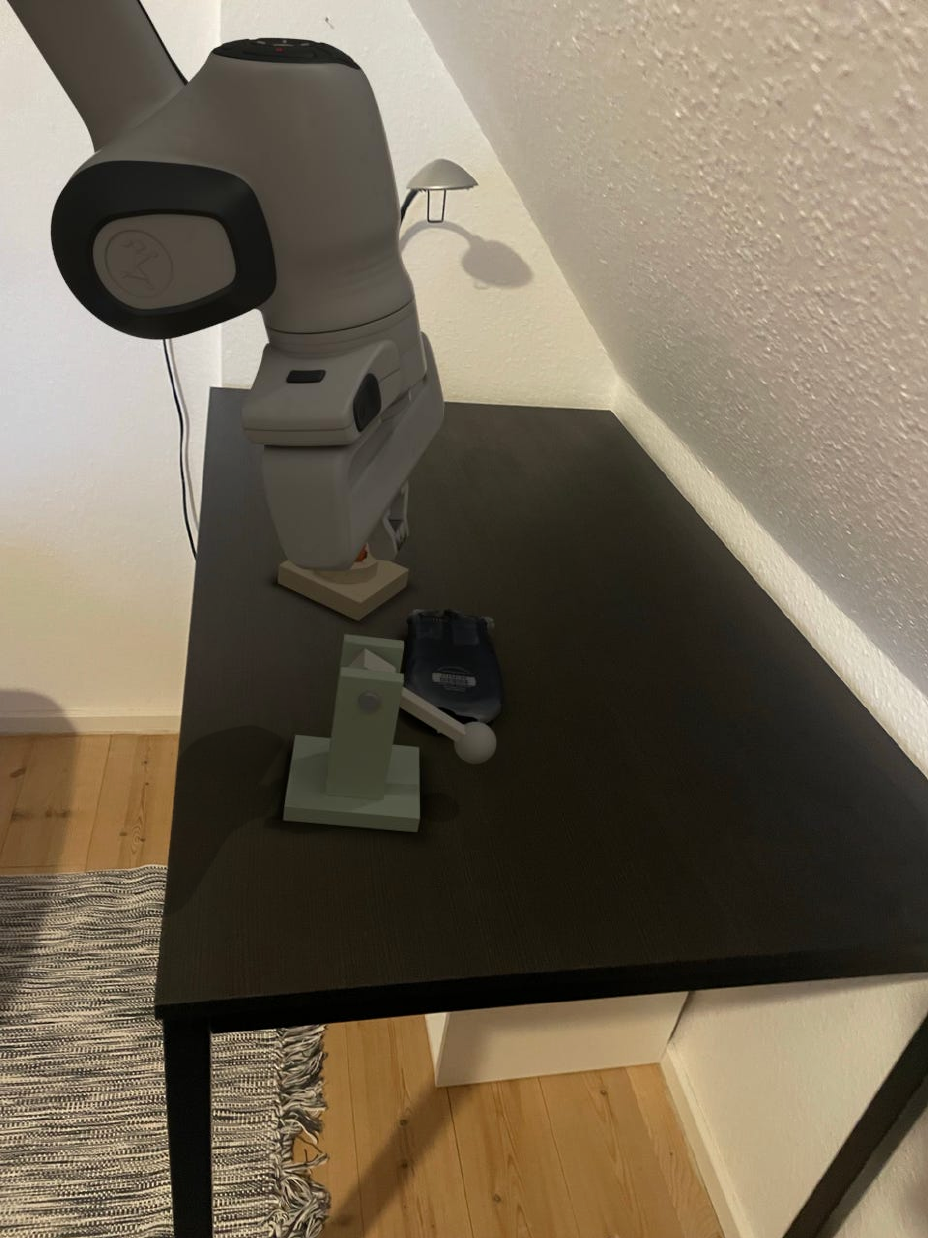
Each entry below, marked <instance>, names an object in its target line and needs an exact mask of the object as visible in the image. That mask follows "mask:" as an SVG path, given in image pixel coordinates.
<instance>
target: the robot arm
mask: <svg viewBox="0 0 928 1238" xmlns="http://www.w3.org/2000/svg"><path fill="white" fill-rule="evenodd" d="M6 2H7V3H8V4H9V6H10V8H11V9H12V11H13V13H14V14H15V16H16V17H17V19H18V20H19V22H20V24H21V25H22V26H23V28H24V30H25V31H26V33H27V34H28V36H29V38H30V39H31V40H32V42H33V44H34V46H35V47H36V49H37V50H38V53H40V55H41V56H42V58H43V59H44V61H45V63H46V64H47V66H48V67H49V69H50V70H51V72H52V74H53V75H54V77H55V78H56V80H57V81H58V83H59V84H60V86H61V87H62V89H63V91H64V92H65V94H66V96H67V97H68V99H69V100H70V103H71V104H72V105H73V106H74V108H75V110H76V112H77V113H78V114H79V116H80V118H81V119H82V121H83V123H84V125H85V127H86V129H87V131H88V135H89V137H90V140H91V143H92V147H93V152H94V153H93V154H92V155H90V157H88V158H87V159H86V160H85V161H84V162H83V163H81V165H80V166H79V167H78V168H77V169H76V170H75V171H74V172H73V173H72V175H71V176H70V178H69V179H68V180H67V182H66V184H65V185H64V187H63V188H62V190H61V191H60V193H59V195H58V196H57V199H56V200H55V203H54V206H53V209H52V214H51V220H50V242H51V249H52V254H53V257H54V261H55V263H56V266H57V269H58V271H59V273H60V275H61V278H62V280H63V281H64V283H65V284H66V286H67V288H68V289H69V291H70V292H71V294H72V295H73V296H74V298H75V299H76V300H77V301H78V302H79V303H80V305H81V306H83V307H84V309H86V310H87V311H88V312H89V313H90V314H91V315H92V316H94V317H95V318H96V319H97V320H99V321H100V322H102V323H103V324H105V325H106V326H108V327H110V328H112V329H114V330H115V331H117V332H120V333H122V334H125V335H128V336H130V337H133V338H134V337H135V338H138V339H142V340H143V339H144V340H151V341H152V340H153V341H162V340H171V339H176V338H180V337H183V336H187V335H191V334H193V333H197V332H200V331H203V330H207V329H209V328H212V327H214V326H217V325H220V324H223V323H226V322H228V321H232V320H233V319H237V318H238V317H240V316H243V315H245V314H247V313H249V312H251V311H253V310H257V311H259V313H260V316H261V318H262V322H263V326H264V330H265V334H266V338H267V341H268V342H267V343H266V344H265V345H264V347H263V350H262V354H261V357H260V363H259V367H258V370H257V373H256V376H255V378H254V381H253V383H252V384H251V387H250V390H249V392H248V394H247V396H246V398H245V399H244V402H243V404H242V407H241V410H240V422H241V427H242V430H243V433H244V435H245V438H246V440H247V442H248V443H250V444H252V445H253V444H255V445H263V447H262V449H261V453H260V476H261V477H260V478H261V483H262V487H263V490H264V491H263V492H264V494H265V498H266V502H267V505H268V509H269V512H270V515H271V519H272V523H273V525H274V528H275V531H276V534H277V536H278V537H277V538H278V540H279V542H280V545H281V548H282V551H283V553H284V554H285V556H286V558H287V560H288V559H289V561H291V562H292V563H293V564H294V565H296V566H297V567H299V568H301V569H305V570H318V571H346V570H348V569H350V568H351V567H352V565H353V564H354V562H355V560H356V559H357V557H358V556H359V554H360V552H361V551H362V549H363V548H364V546H365V545H366V543H367V542H368V545H369V549H370V553H371V556H372V557H373V558H374V559H376V560H387V561H391V562H393V561H394V560H396V558H397V556H398V554H399V552H400V550H401V549H402V547H403V545H404V544H405V543H406V541H407V539H408V537H409V536H410V529H409V523H408V519H407V514H408V513H407V512H408V503H409V502H408V501H409V489H410V484H409V480H408V479H409V477H410V476H411V474H412V472H413V471H414V469H415V468H416V466H417V464H418V463H419V461H420V460H421V458H422V457H423V455H424V453H425V452H426V450H427V449H428V447H429V446H430V444H431V443H432V441H433V440H434V438H435V436H436V435H437V433H438V431H439V430H440V428H441V427H442V425H443V423H444V419H445V416H444V415H445V399H444V394H443V389H442V385H441V384H442V383H441V379H440V376H439V375H440V374H439V370H438V365H437V362H436V358H435V354H434V350H433V346H432V344H431V341H430V338H429V337H428V335H427V334H426V333H425V332H424V331H422V330H421V329H422V328H421V324H420V316H419V312H418V306H417V300H416V294H415V288H414V284H413V281H412V278H411V276H410V274H409V272H408V270H407V268H406V265H405V263H404V261H403V260H404V259H403V256H402V252H401V245H400V244H401V243H400V242H401V241H400V232H401V231H400V230H401V222H402V211H401V202H400V197H399V191H398V185H397V179H396V175H395V169H394V165H393V160H392V155H391V151H390V150H391V149H390V146H389V145H390V144H389V142H388V137H387V133H386V130H385V125H384V122H383V117H382V114H381V110H380V108H379V104H378V101H377V98H376V95H375V92H374V89H373V87H372V84H371V82H370V80H369V78H368V76H367V74H366V73H365V71H364V70H363V68H362V67H361V66H360V65H359V64H358V63H357V62H356V61H354V59H353V57H351V56H350V55H349V54H347V53H346V52H344V51H343V50H341V49H340V48H338V47H336V46H334V45H331V44H329V43H326V42H323V41H320V42H318V41H315V40H311V39H303V38H289V37H258V38H254V39H251V38H242V39H241V38H240V39H236V40H231V41H228V42H224V43H221V45H218V46H216V47H213V49H212V50H211V51H210V52H209V53H208V56H207V57H206V60H205V61H204V63H203V65H202V66H201V67H200V69H199V70H197V72H196V73H195V74H194V75H193V76H192V77H191V79H190V80H189V81H188V79H187V78H186V77H185V75H184V74H183V73H182V71H181V70H180V68H179V67H178V65H177V64H176V62H175V60H174V58H173V57H172V56H171V54H170V52H169V50H168V48H167V47H166V45H165V43H164V41H163V39H162V38H161V35H160V33H159V32H158V30H157V29H156V26H155V25H154V22H153V21H152V20H151V17H150V16H149V14H148V12H147V10H146V9H145V7H144V4H143V3H142V1H141V0H6Z"/></svg>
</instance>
